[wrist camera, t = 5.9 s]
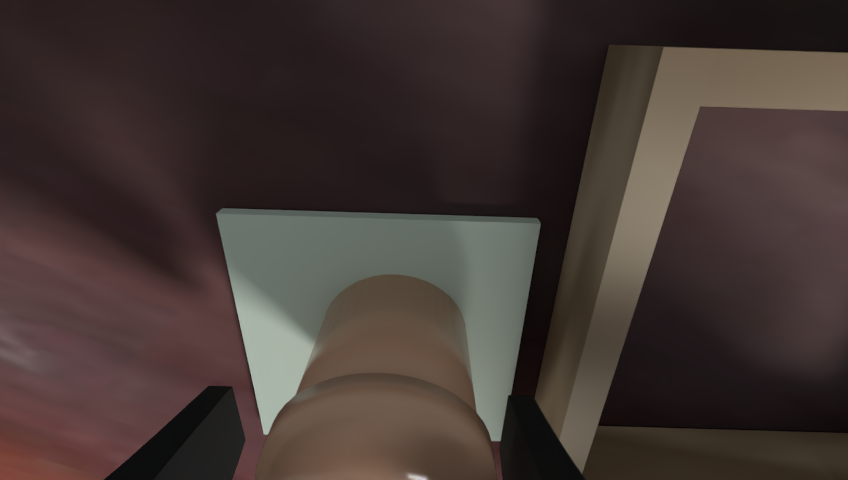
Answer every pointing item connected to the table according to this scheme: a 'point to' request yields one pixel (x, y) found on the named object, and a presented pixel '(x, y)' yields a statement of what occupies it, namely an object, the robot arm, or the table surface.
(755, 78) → the wooden frame
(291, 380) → the mat
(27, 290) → the table surface
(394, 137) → the table surface
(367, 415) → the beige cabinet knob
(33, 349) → the table surface
